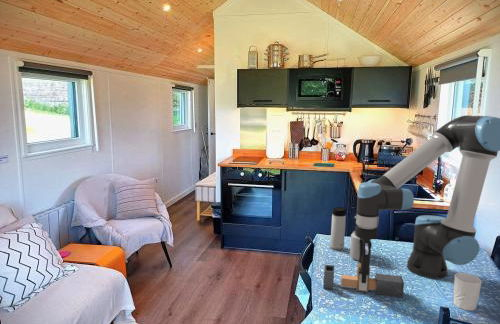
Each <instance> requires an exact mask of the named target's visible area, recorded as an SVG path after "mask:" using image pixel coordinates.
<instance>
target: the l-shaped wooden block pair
mask: <svg viewBox="0 0 500 324" xmlns="http://www.w3.org/2000/svg"><path fill="white" fill-rule="evenodd" d="M360 271H361V263H359V262H357V268H356V276H355V275H349V274H348V275H347V274H341V278H340V284H341V287H347V288H355V289H356V291H358V292H366V293H369V290H371V291H375V290H376V285H377V279H375V277H374V278H372V277H370V276H371V275H370V274H371V273H370V272H371V267H370V265H369V275H368V281H367V291H362V290H359V279H360V274H359V273H358V272H360Z"/></svg>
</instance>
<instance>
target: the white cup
mask: <svg viewBox="0 0 500 324" xmlns="http://www.w3.org/2000/svg"><path fill="white" fill-rule="evenodd" d="M481 287H482V279H480V277H478V276H476V275H473V274H470V273H465V272H456V273H455V274H454V278H453V305H454V306H456V307H457V308H459V309H461V310H464V311H471V312H472V311H475V310H476V309H477V304H478V301H479V298H480V297H479V296H480V293H481V292H480V291H481Z"/></svg>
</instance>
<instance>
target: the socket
mask: <svg viewBox="0 0 500 324" xmlns="http://www.w3.org/2000/svg"><path fill="white" fill-rule="evenodd" d="M323 268H324V269H323V271H324V273H323V289H324V290H332V291H333V290H334V283H335V281H334V279H335V265H334V264H324V267H323Z"/></svg>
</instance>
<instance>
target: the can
mask: <svg viewBox="0 0 500 324" xmlns="http://www.w3.org/2000/svg"><path fill="white" fill-rule="evenodd" d="M359 240H360V238H359V237H357V236H356V235H355V230H353V231H352V233H351V234H350V246H349V247H350V248H349V257H350V258H351V259H352V260H354V261H357V262H359V253H360V249H359V247H360V244H359Z"/></svg>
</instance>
